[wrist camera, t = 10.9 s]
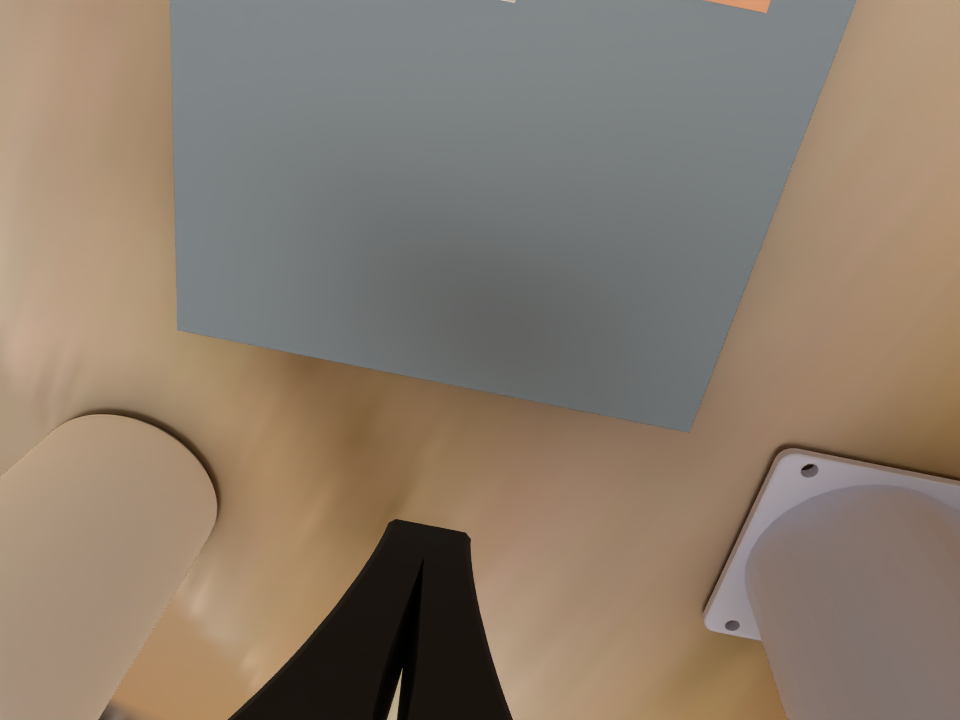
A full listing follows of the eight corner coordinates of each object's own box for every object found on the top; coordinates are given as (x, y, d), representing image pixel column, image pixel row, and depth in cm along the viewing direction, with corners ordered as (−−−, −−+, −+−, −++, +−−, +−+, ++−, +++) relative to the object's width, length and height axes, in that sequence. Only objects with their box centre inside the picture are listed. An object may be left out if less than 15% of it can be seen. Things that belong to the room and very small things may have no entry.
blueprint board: (971, -329, 14) (990, -342, 14) (685, 422, 23) (689, 434, 22) (173, -498, 14) (156, -520, 13) (185, 321, 23) (175, 331, 22)
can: (64, 375, 24) (-319, 688, 13) (246, 457, 25) (23, 810, 14) (30, 508, 27) (-307, 851, 16) (194, 576, 28) (-24, 943, 17)
